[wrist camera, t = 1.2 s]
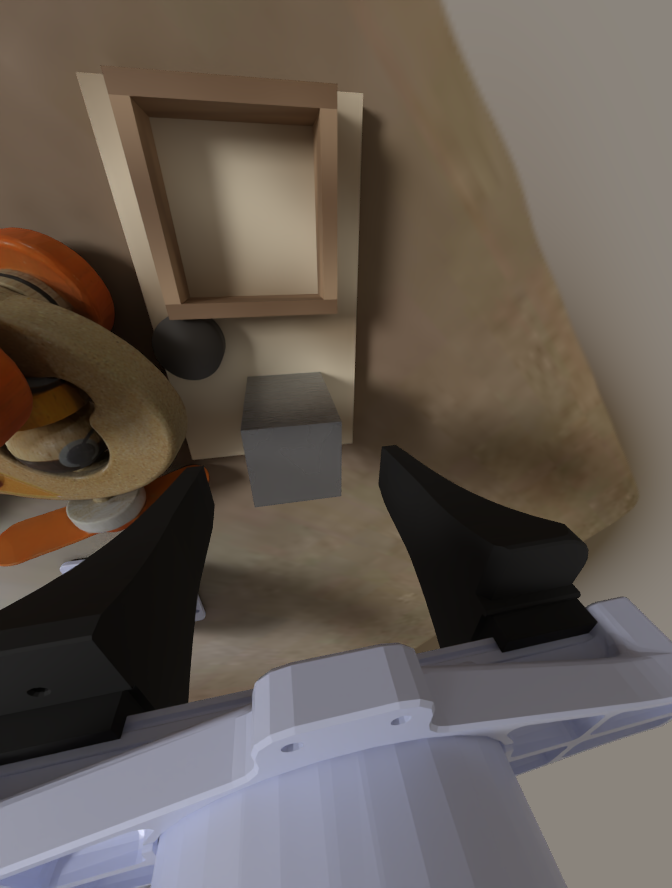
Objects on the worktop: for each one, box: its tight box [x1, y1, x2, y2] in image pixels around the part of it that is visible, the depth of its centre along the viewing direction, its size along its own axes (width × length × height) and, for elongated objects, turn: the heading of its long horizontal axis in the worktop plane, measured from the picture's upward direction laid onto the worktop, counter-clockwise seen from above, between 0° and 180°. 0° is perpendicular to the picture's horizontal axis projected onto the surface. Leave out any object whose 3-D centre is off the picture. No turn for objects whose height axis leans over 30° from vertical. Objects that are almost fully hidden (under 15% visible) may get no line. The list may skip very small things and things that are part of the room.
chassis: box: [76, 65, 363, 460], centre depth 15 cm, size 16×10×3 cm, turn 1°
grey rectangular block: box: [240, 372, 342, 507], centre depth 16 cm, size 4×4×6 cm
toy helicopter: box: [0, 228, 209, 566], centre depth 16 cm, size 8×21×14 cm
